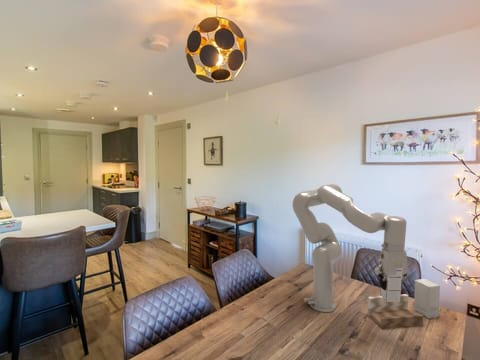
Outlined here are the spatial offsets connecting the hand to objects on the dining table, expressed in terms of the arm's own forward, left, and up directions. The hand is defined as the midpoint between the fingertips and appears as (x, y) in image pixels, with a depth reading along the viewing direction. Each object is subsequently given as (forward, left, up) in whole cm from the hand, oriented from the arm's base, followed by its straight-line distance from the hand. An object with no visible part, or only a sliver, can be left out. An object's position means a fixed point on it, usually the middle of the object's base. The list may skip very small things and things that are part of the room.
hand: (390, 287), depth 110 cm
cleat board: (+10, +10, -21) cm, 25 cm away
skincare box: (+29, +13, -21) cm, 38 cm away
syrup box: (0, 0, -5) cm, 5 cm away
